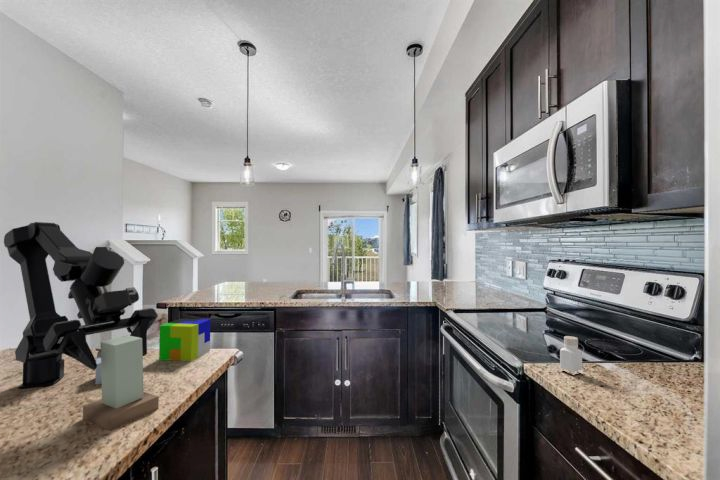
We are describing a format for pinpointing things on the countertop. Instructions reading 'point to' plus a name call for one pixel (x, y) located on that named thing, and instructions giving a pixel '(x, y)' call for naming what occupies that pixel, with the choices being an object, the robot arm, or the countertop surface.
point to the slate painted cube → (98, 371)
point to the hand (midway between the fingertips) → (121, 361)
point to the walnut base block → (119, 411)
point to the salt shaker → (571, 355)
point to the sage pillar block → (122, 371)
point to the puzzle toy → (184, 339)
